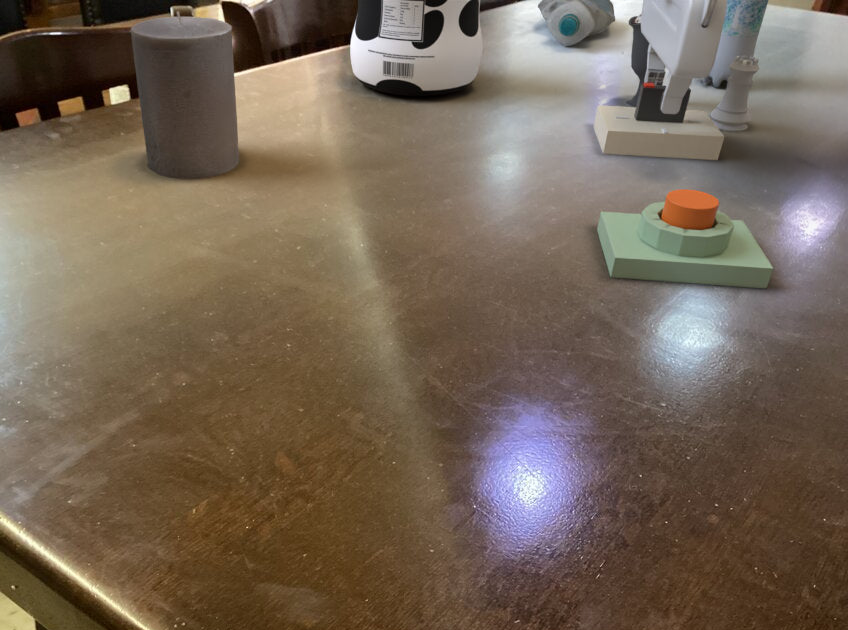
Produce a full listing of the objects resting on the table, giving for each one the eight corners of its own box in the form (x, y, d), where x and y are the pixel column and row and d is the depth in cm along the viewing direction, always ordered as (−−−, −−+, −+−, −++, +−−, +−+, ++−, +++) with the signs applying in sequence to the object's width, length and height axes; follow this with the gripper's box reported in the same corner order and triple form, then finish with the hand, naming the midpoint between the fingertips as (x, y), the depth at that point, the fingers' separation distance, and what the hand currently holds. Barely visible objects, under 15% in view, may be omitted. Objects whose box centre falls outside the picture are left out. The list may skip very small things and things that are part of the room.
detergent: (540, 15, 147) (516, 43, 127) (550, -28, 143) (527, -7, 123) (614, 28, 144) (601, 59, 124) (626, -16, 140) (615, 8, 120)
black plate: (680, 118, 90) (689, 84, 88) (682, 122, 89) (691, 87, 87) (633, 116, 91) (641, 82, 89) (635, 120, 90) (643, 85, 87)
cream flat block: (697, 136, 95) (705, 108, 93) (716, 164, 87) (725, 135, 85) (592, 130, 96) (597, 103, 94) (602, 158, 89) (608, 129, 87)
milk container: (445, 65, 119) (457, -75, 108) (501, 99, 106) (520, -57, 95) (332, 75, 114) (333, -71, 104) (376, 111, 101) (382, -52, 90)
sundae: (648, 118, 100) (680, -16, 91) (601, 105, 104) (627, -24, 95) (676, 108, 103) (709, -22, 95) (630, 96, 107) (657, -30, 99)
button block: (735, 243, 72) (749, 200, 69) (764, 293, 64) (781, 247, 62) (596, 234, 73) (605, 191, 71) (609, 282, 66) (619, 236, 63)
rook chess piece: (698, 125, 98) (717, 55, 93) (726, 120, 99) (746, 52, 95) (726, 136, 95) (747, 65, 90) (755, 132, 96) (777, 61, 91)
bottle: (702, 74, 116) (744, -87, 105) (751, 82, 113) (800, -83, 102) (688, 84, 112) (731, -82, 100) (739, 93, 109) (789, -78, 97)
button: (706, 213, 68) (712, 190, 67) (717, 234, 65) (725, 210, 63) (656, 210, 68) (662, 187, 67) (665, 231, 65) (672, 206, 64)
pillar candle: (129, 175, 83) (107, 17, 74) (176, 144, 91) (161, -2, 82) (215, 188, 80) (201, 27, 72) (256, 156, 88) (248, 6, 79)
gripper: (757, -24, 72) (712, 131, 80) (705, -57, 88) (672, 75, 96) (683, -27, 73) (646, 127, 81) (645, -59, 89) (617, 72, 97)
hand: (659, 98), depth 89 cm, fingers open, 8 cm apart
